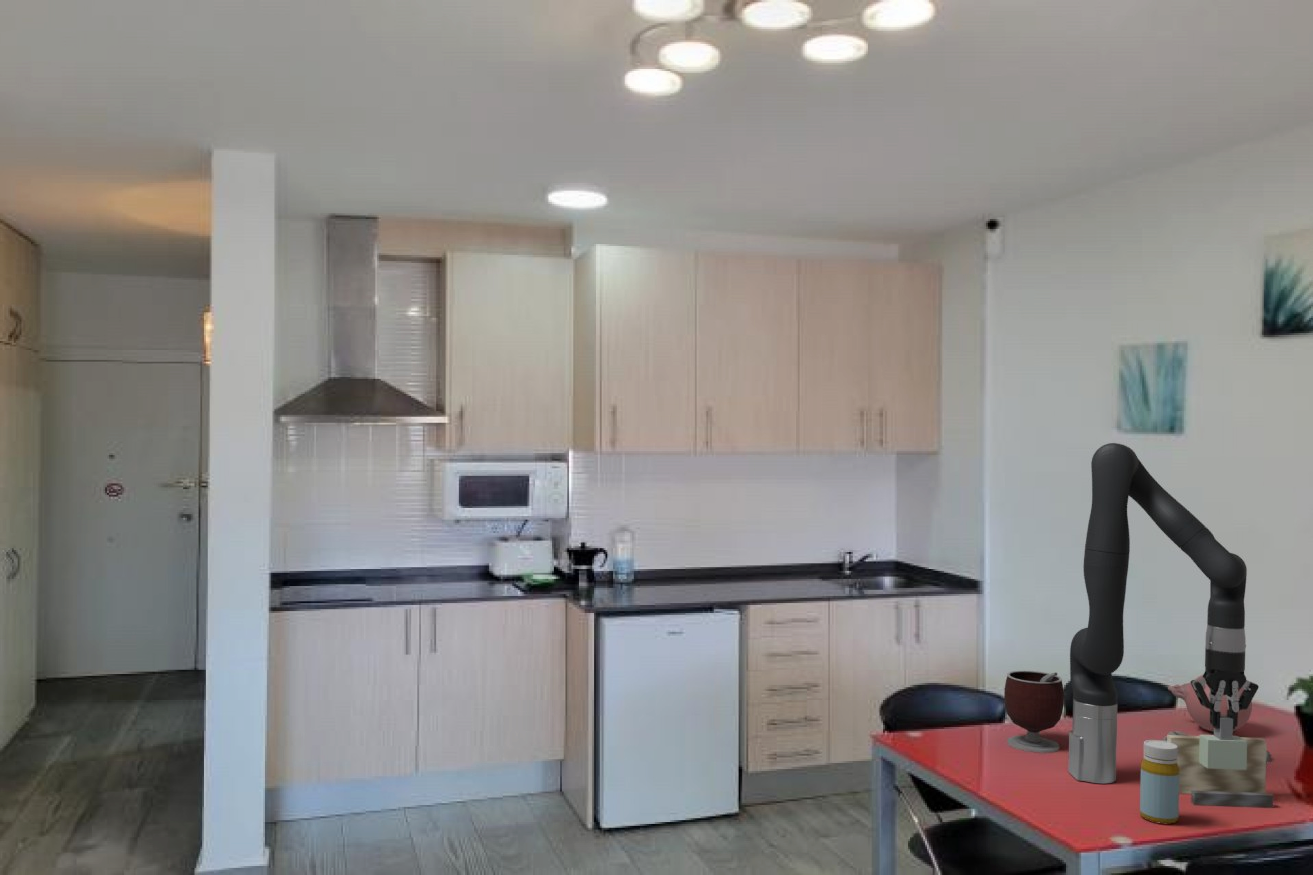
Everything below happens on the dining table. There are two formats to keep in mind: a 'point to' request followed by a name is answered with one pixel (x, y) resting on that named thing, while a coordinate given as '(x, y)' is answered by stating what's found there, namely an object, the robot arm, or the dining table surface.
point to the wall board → (1222, 776)
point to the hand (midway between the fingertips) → (1223, 727)
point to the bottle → (1159, 782)
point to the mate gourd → (1034, 707)
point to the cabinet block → (1223, 748)
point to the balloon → (1201, 712)
